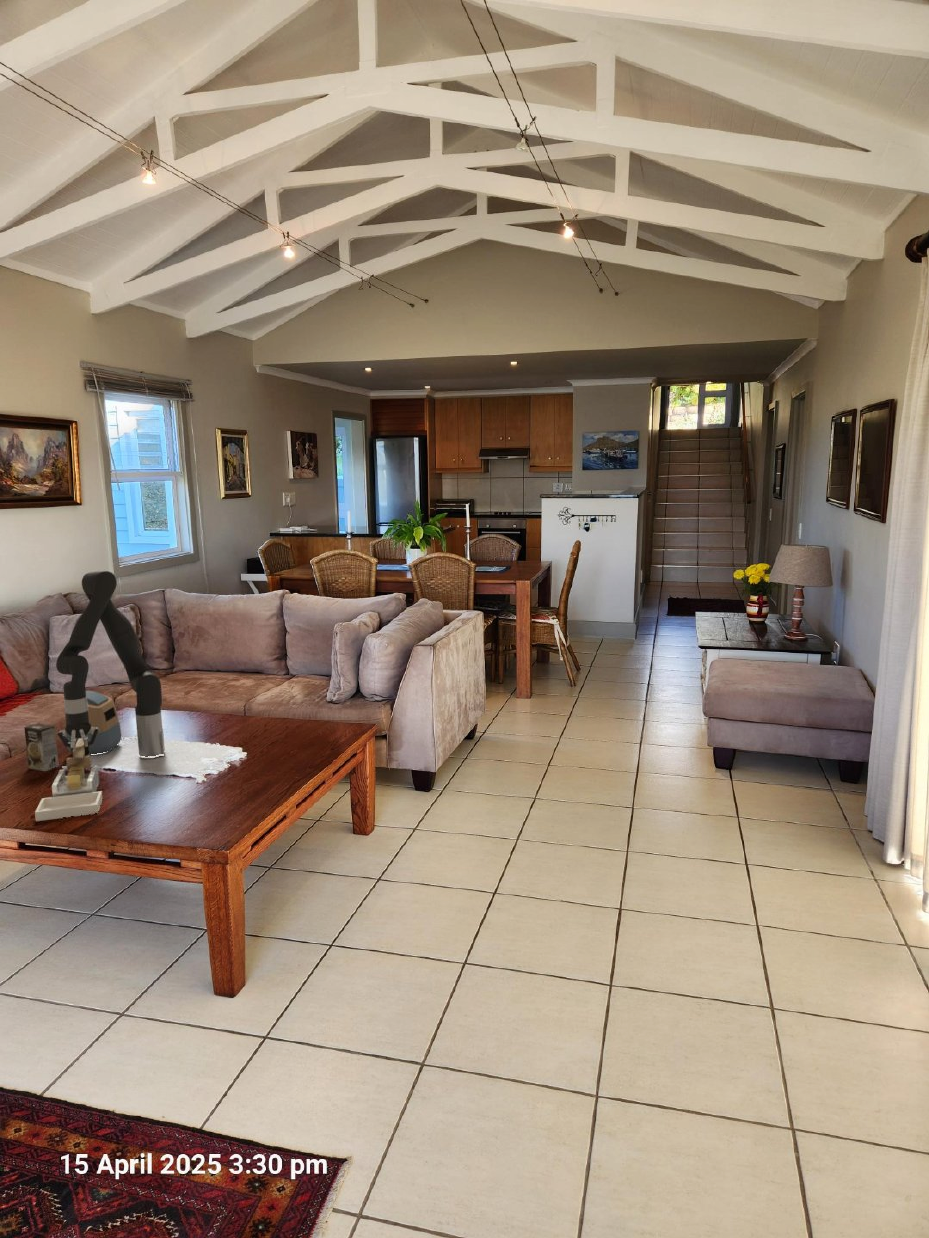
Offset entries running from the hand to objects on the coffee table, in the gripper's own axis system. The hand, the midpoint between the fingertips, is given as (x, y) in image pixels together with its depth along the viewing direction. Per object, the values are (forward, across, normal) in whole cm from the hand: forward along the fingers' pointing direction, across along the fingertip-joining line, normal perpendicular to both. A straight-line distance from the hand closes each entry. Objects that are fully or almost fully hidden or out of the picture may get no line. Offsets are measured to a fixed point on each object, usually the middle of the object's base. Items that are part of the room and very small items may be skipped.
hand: (80, 756), depth 285 cm
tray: (+8, 0, +30) cm, 31 cm away
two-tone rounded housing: (+9, 0, -33) cm, 34 cm away
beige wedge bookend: (+3, 0, -1) cm, 3 cm away
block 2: (+4, 0, +17) cm, 18 cm away
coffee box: (+9, +16, -18) cm, 25 cm away
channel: (+8, 0, +15) cm, 17 cm away
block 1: (+4, 0, +12) cm, 13 cm away
